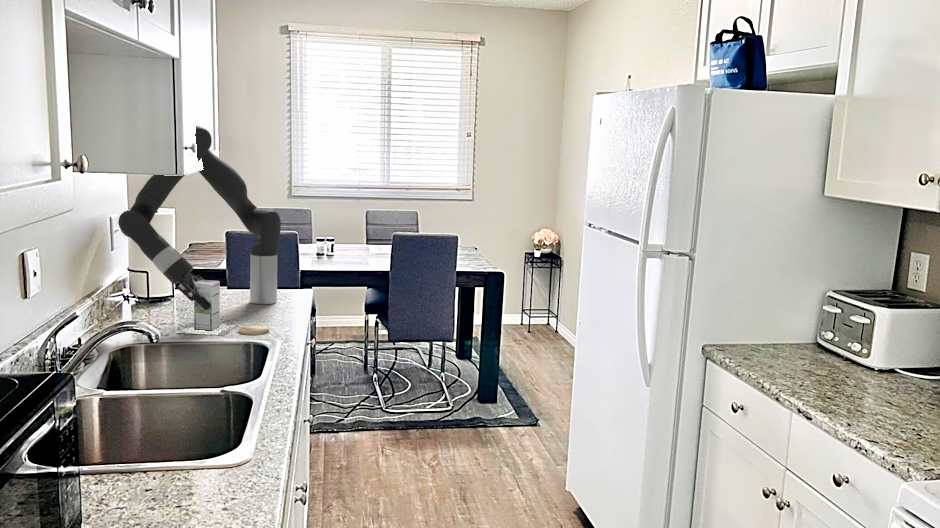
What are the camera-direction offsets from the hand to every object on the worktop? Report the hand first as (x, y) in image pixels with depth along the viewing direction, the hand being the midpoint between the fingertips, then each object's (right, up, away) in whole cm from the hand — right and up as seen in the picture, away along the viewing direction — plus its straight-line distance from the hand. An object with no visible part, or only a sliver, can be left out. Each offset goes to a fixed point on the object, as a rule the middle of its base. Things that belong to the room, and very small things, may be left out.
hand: (212, 305), depth 220 cm
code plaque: (-2, -7, +1) cm, 8 cm away
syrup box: (-2, -7, +1) cm, 8 cm away
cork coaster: (+12, -8, +1) cm, 14 cm away
